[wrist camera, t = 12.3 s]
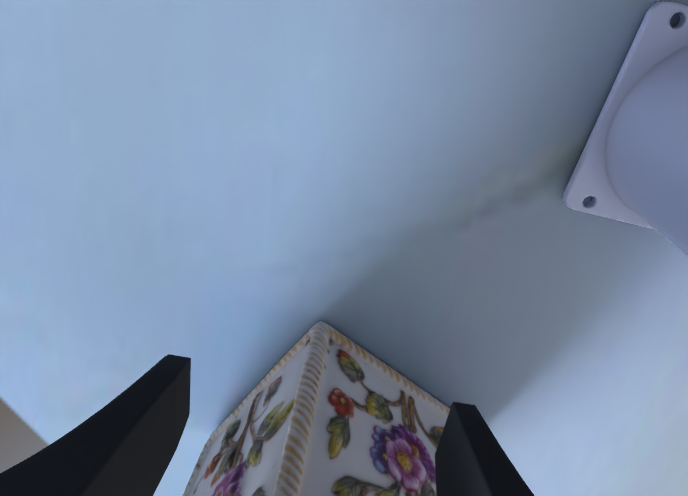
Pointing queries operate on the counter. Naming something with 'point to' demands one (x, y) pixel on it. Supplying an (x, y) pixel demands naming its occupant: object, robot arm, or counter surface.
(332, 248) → the counter surface
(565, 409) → the counter surface
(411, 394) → the decorative jar
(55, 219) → the counter surface
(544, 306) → the counter surface
